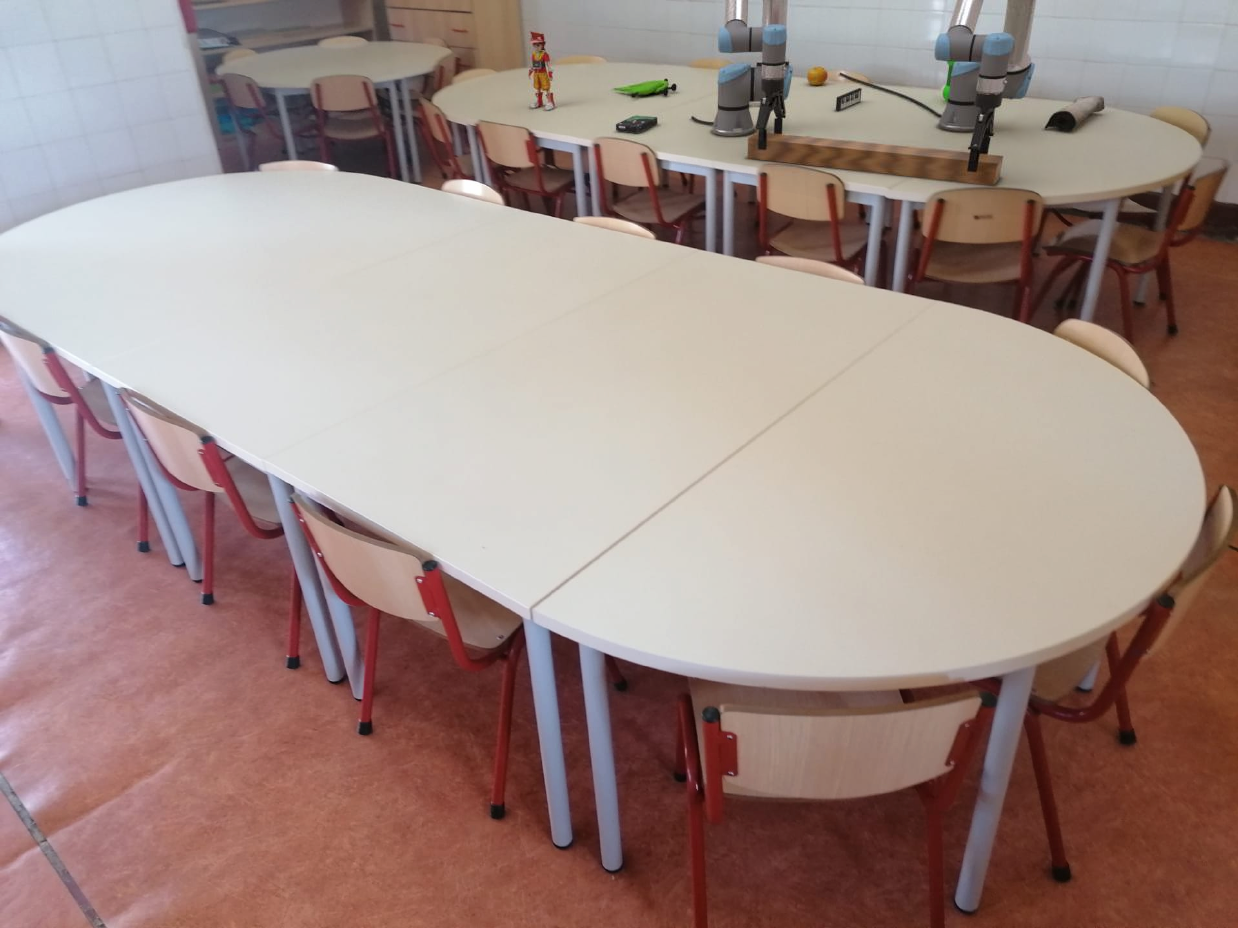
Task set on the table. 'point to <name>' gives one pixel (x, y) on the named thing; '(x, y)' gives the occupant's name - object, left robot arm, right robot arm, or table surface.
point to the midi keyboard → (848, 99)
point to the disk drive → (636, 124)
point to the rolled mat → (1075, 113)
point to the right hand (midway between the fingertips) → (977, 165)
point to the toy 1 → (541, 71)
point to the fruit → (817, 76)
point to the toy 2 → (648, 88)
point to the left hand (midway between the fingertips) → (770, 144)
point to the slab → (877, 158)
